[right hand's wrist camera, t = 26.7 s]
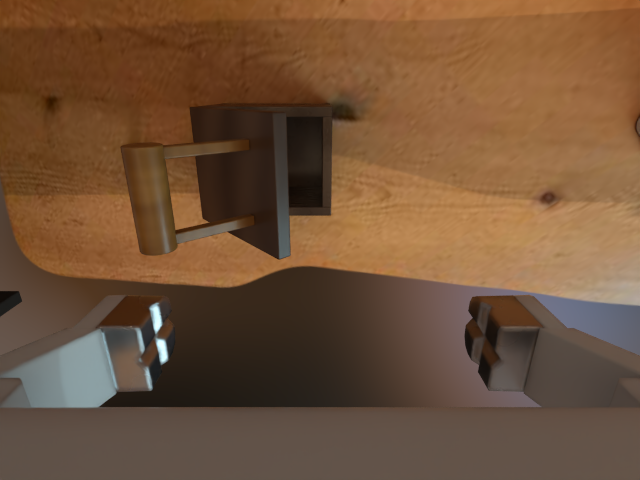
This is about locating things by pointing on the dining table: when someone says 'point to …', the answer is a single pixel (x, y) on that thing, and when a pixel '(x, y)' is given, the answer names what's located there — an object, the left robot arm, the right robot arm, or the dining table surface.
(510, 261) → the dining table surface
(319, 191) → the chest
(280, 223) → the lid
